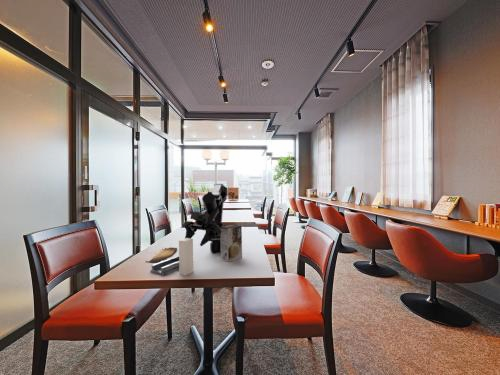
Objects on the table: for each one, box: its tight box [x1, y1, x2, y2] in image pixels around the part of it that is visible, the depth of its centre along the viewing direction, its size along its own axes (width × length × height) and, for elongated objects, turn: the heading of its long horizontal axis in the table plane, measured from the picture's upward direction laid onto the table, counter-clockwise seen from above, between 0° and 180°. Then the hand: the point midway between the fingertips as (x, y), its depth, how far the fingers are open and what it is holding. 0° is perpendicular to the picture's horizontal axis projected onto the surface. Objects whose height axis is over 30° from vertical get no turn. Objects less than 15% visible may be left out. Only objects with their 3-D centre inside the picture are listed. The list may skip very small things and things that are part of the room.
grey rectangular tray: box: [150, 255, 179, 277], centre depth 105 cm, size 16×8×3 cm, turn 149°
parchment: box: [145, 247, 178, 263], centre depth 124 cm, size 25×10×1 cm, turn 0°
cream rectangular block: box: [178, 237, 194, 276], centre depth 99 cm, size 4×4×14 cm
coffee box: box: [220, 224, 243, 263], centre depth 117 cm, size 9×6×16 cm
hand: (192, 244), depth 102 cm, fingers open, 9 cm apart
